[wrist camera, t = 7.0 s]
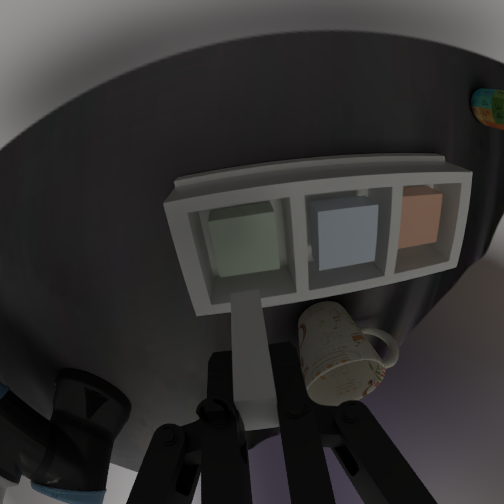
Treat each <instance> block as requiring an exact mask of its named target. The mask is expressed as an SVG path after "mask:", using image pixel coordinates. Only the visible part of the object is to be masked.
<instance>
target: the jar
mask: <svg viewBox="0 0 504 504" xmlns="http://www.w3.org/2000/svg"><path fill="white" fill-rule="evenodd" d="M471 107H472V111H473V113H474V115H475V117H476V118H477V119H478V120H479V121H480V122H481V123H483V124H484V125H487V126H491V127H494V128H498V129H501V130H504V90H495V89H478V90H476V91H475V92H474V93H473V95H472V98H471Z"/></svg>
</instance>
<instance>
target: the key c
mask: <svg viewBox="0 0 504 504" xmlns="http://www.w3.org/2000/svg"><path fill="white" fill-rule="evenodd" d="M442 196H443V194H442V193H441V192H439V191H437V190H435V189H433V188H431V187H429V186H421V187H406V188H403V196H402V211H401V223H400V233H399V242H398V249H401V248H406V247H412V246H417V245H422V244H428V243H433V242H436V240H437V234H438V228H439V221H440V214H441V205H442Z"/></svg>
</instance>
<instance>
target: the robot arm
mask: <svg viewBox="0 0 504 504" xmlns="http://www.w3.org/2000/svg"><path fill="white" fill-rule="evenodd" d="M231 331H232V350H231V351H222V352H213V354H212V356H211V358H210V360H209V362H208V384H207V398H206V399H205V400H203V401H201V403H200V404H199V405H198V406H197V410H196V413H197V415H198V416H199V418H200V419H199V420H197V421H195V422H193V423H190V424H187V425H184V426H181V427H180V426H178V425H175V424H164V425H162V426H160V427H159V428H157V430H156V431H155V433H154V435H153V437H152V439H151V442H150V444H149V447H148V449H147V452H146V454H145V457H144V459H143V462H142V464H141V467H140V469H139V472H138V475H137V477H136V480H135V482H134V485H133V487H132V490H131V492H130V495H129V498H128V500H127V503H126V504H191V503H192V500H193V497H194V493H195V490H196V486H197V483H198V480H199V476H200V473H201V504H253V503H252V493H251V482H250V471H249V460H248V447H247V441H246V438H245V430H246V431H248V430H257V429H265V428H272V427H279V426H280V432H281V439H282V445H283V452H284V458H285V465H286V471H287V478H288V485H289V491H290V498H291V504H336V503H335V499H334V494H333V490H332V485H331V481H330V476H329V472H328V468H327V464H326V459H325V455H324V451H323V447H331V449H332V451H333V453H334V454H335V456H336V457H337V459H338V461H339V463H340V464H341V466H342V468H343V469H344V471H345V472H346V474H347V476H348V477H349V479H350V481H351V482H352V484H353V486H354V487H355V489H356V490H357V492H358V494H359V495H360V497H361V498H362V500H363V502H364V503H365V504H437V502H436V501H435V499H434V498H433V497H432V495H431V494H430V493H429V491H428V490H427V489H426V487H425V486H424V484H423V483H422V482H421V480H420V479H419V478H418V476H417V475H416V473H415V472H414V471H413V469H412V468H411V467H410V465H409V464H408V462H407V461H406V460H405V458H404V457H403V456H402V454H401V453H400V451H399V450H398V449H397V447H396V446H395V445H394V443H393V442H392V441H391V439H390V438H389V436H388V435H387V434H386V432H385V431H384V430H383V428H382V427H381V426H380V424H379V423H378V421H377V420H376V419H375V417H374V416H373V415H372V413H371V412H370V410H369V409H368V408H367V406H365V405H364V404H363V403H362V402H360V401H357V400H348V401H345V402H342V403H341V404H340V405H338V406H328V405H320V404H318V403H316V402H314V401H313V400H312V399H311V398H310V397H309V395H308V393H307V389H306V385H305V381H304V377H303V373H302V370H301V366H300V362H299V358H298V354H297V350H296V348H295V347H294V346H293V345H292V343H291V342H290V341H288V342H282V343H276V344H270V345H268V342H267V335H266V329H265V323H264V317H263V311H262V305H261V298H260V292H259V289H257V290H250V291H244V292H237V293H231ZM54 391H55V393H54V400H53V413H52V416H51V419H50V421H49V420H47V419H46V418H45V417H43V416H42V415H41V414H39V413H38V412H37V411H35V410H34V409H33V408H31V407H30V406H29V405H28V404H26V403H25V402H24V401H23V400H21V399H20V398H19V397H18V396H17V395H15V394H14V393H13V392H12V391H11V390H10V388H9V387H8V386H5V385H4V384H3V383H2V382H1V381H0V504H2V503H3V498H4V495H5V491H6V488H7V487H8V486H16V485H18V484H19V481H20V478H21V475H23V476H25V477H27V478H29V479H30V480H31V486H32V488H33V489H34V490H36V491H38V492H40V493H42V494H44V495H47V496H49V497H52V498H55V499H57V500H60V501H63V502H66V503H69V504H102V503H103V499H104V494H105V492H106V482H107V475H108V469H109V463H110V459H111V453H112V448H113V443H114V440H115V439H116V437H117V436H118V434H119V433H120V431H121V429H122V428H123V426H124V424H125V423H126V422H127V421H128V419H129V416H130V412H131V404H130V402H129V400H128V399H127V398H126V397H125V396H124V395H123V394H122V393H121V392H120V391H119V390H118V389H116V388H115V387H113V386H112V385H110V384H109V383H107V382H105V381H104V380H102V379H100V378H98V377H96V376H93V375H91V374H88V373H85V372H82V371H78V370H73V369H65V370H62V371H60V372H59V373H58V375H57V377H56V380H55V382H54Z"/></svg>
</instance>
